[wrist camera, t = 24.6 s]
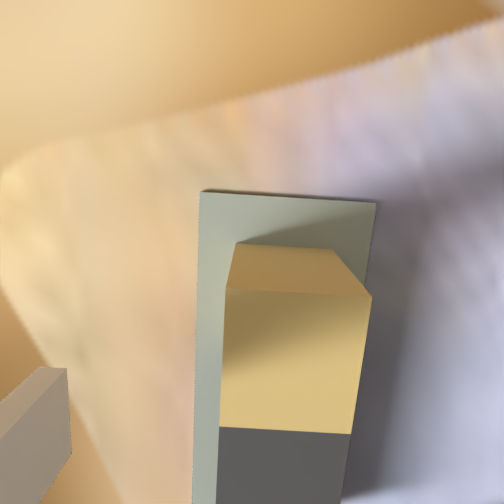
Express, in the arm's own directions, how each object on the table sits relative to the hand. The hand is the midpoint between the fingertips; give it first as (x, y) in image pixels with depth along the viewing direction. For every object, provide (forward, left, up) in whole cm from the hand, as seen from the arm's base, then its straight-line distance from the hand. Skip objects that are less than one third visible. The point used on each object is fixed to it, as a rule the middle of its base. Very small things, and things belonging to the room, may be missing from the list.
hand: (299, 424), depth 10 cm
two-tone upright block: (-5, 0, -8) cm, 9 cm away
